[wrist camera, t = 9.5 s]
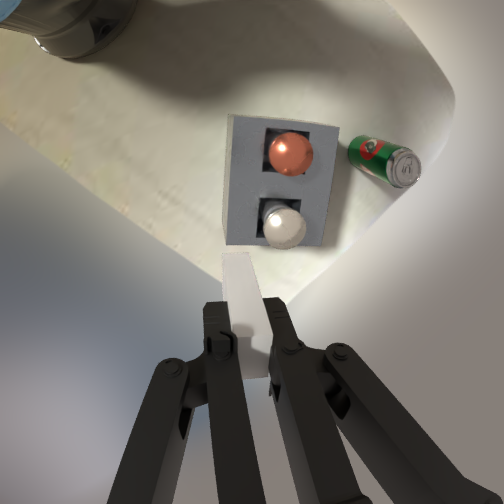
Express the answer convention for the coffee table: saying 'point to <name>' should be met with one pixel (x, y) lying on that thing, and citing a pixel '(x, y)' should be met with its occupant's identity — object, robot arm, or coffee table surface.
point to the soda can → (385, 161)
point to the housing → (274, 178)
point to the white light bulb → (281, 223)
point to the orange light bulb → (288, 152)
